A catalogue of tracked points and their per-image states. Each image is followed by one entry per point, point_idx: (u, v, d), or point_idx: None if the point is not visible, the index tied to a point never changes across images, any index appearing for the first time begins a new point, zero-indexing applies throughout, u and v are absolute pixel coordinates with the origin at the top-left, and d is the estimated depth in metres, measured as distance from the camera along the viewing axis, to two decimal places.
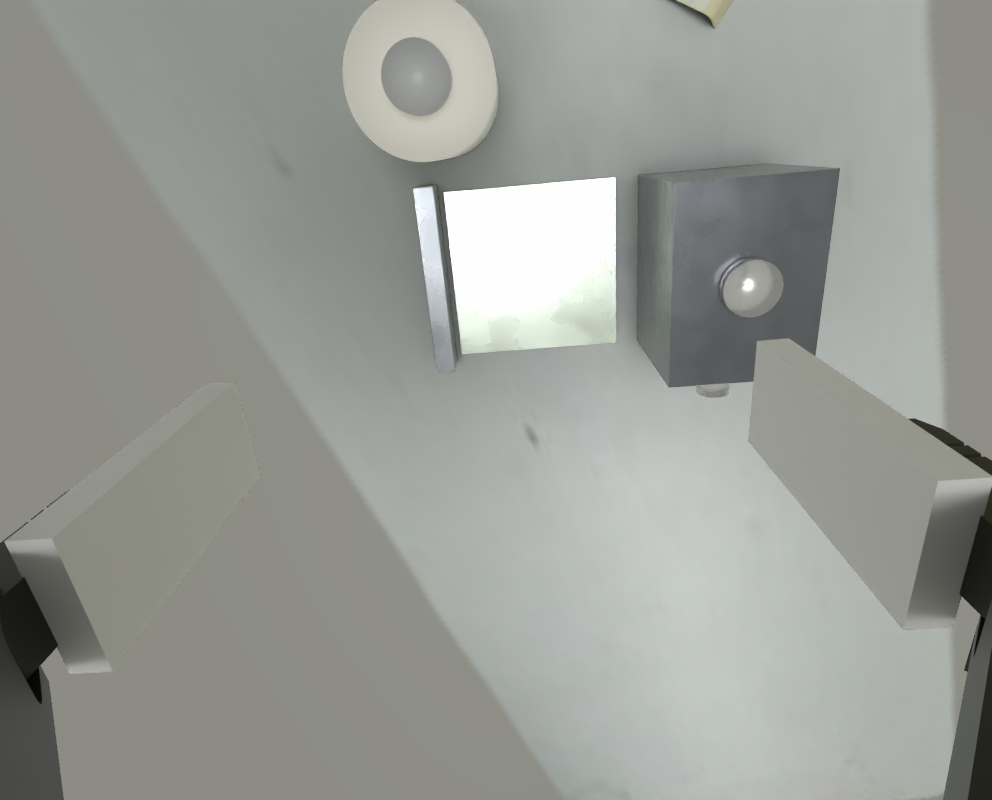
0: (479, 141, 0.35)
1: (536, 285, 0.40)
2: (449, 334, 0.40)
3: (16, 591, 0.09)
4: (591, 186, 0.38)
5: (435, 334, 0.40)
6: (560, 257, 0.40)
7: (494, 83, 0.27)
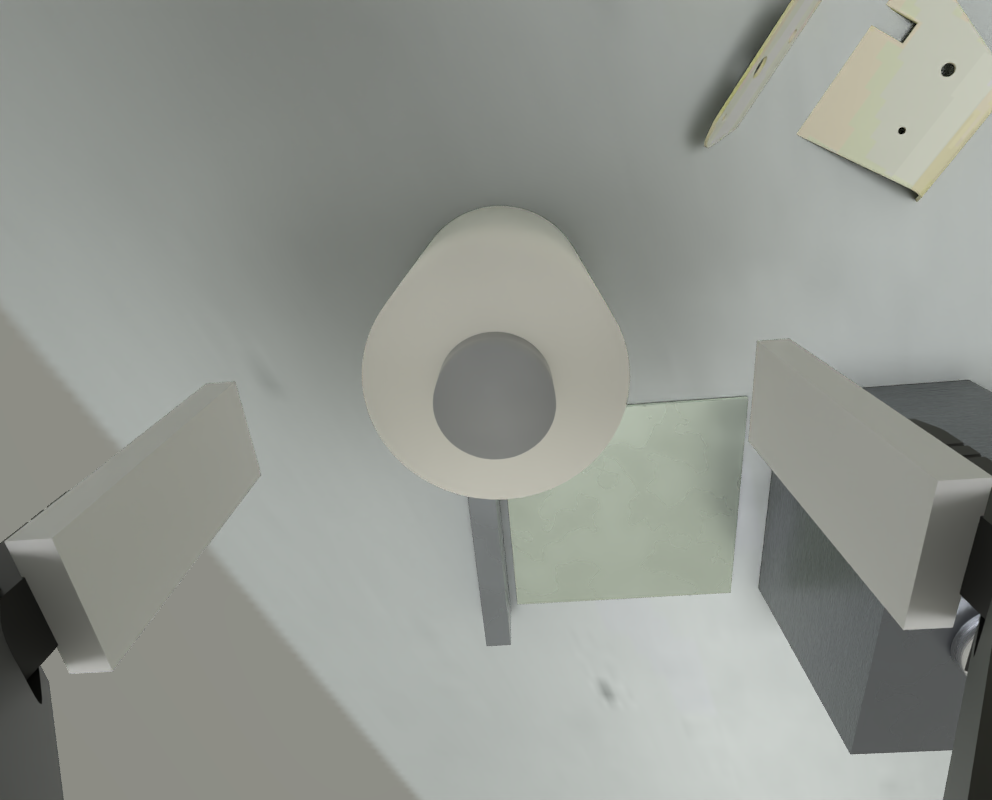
0: None
1: (625, 527, 0.29)
2: (505, 602, 0.28)
3: (16, 591, 0.09)
4: (712, 409, 0.26)
5: (485, 603, 0.28)
6: (661, 494, 0.28)
7: (626, 392, 0.16)
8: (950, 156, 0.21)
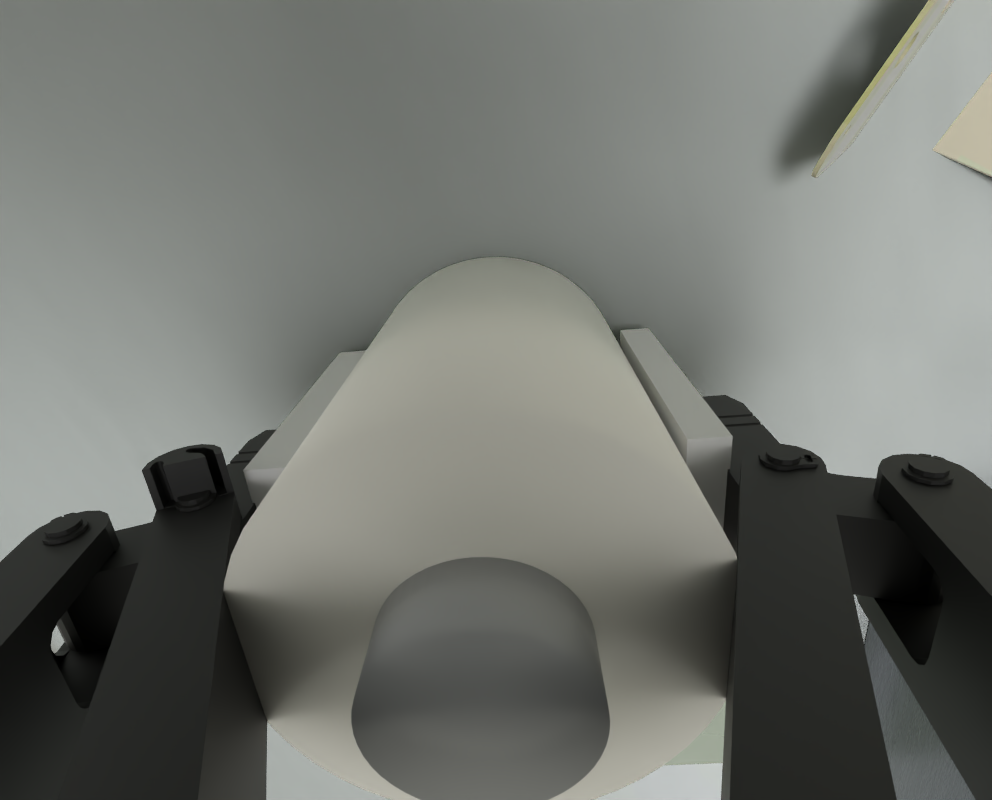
0: None
1: None
2: None
3: (250, 514, 0.11)
4: None
5: None
6: None
7: None
8: None
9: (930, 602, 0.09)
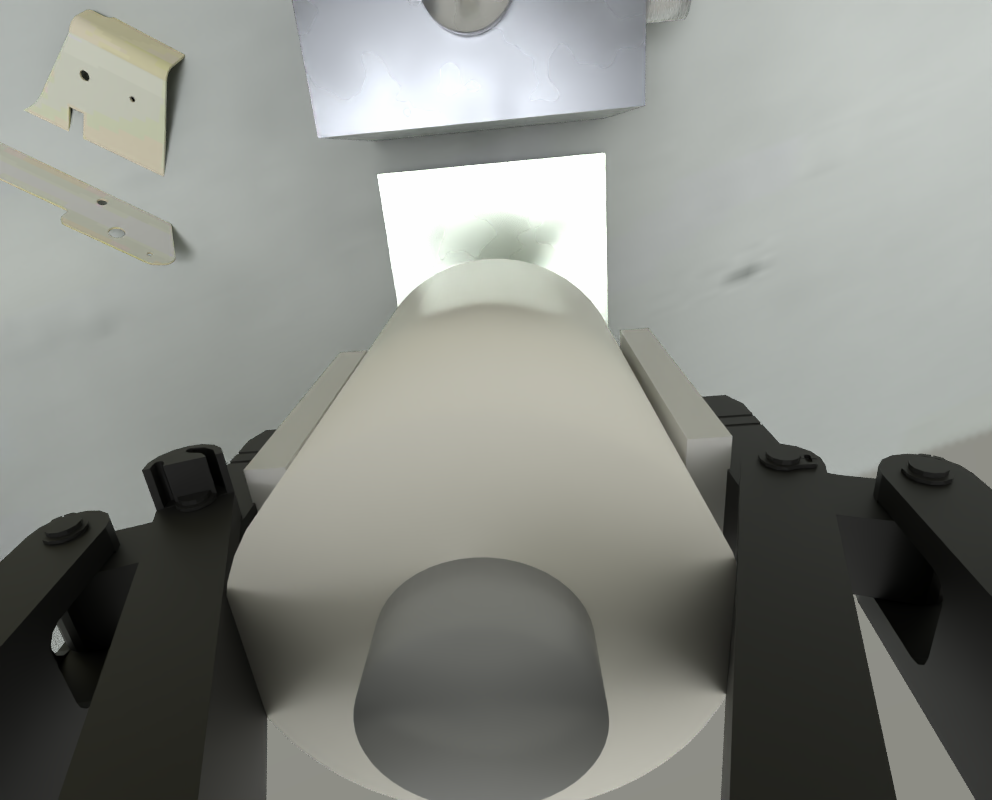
0: None
1: None
2: None
3: (250, 514, 0.11)
4: (390, 206, 0.29)
5: None
6: (481, 243, 0.30)
7: None
8: (135, 54, 0.26)
9: (930, 602, 0.09)
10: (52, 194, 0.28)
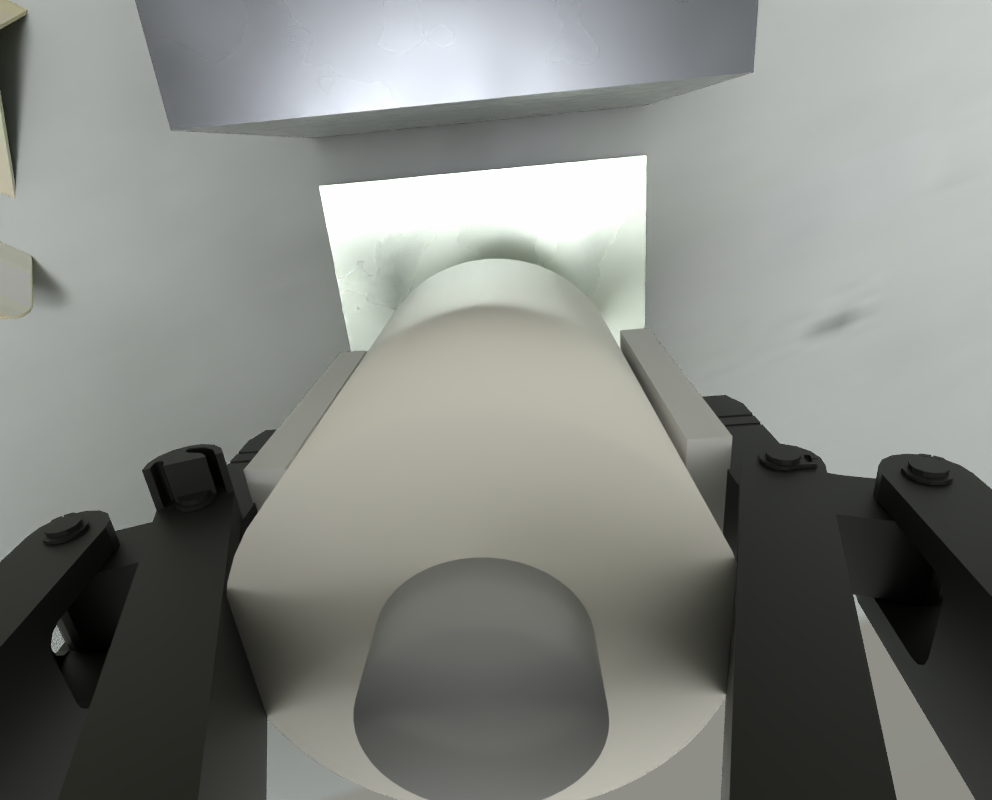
0: None
1: None
2: None
3: (250, 514, 0.11)
4: (339, 231, 0.21)
5: None
6: None
7: None
8: None
9: (930, 602, 0.09)
10: None
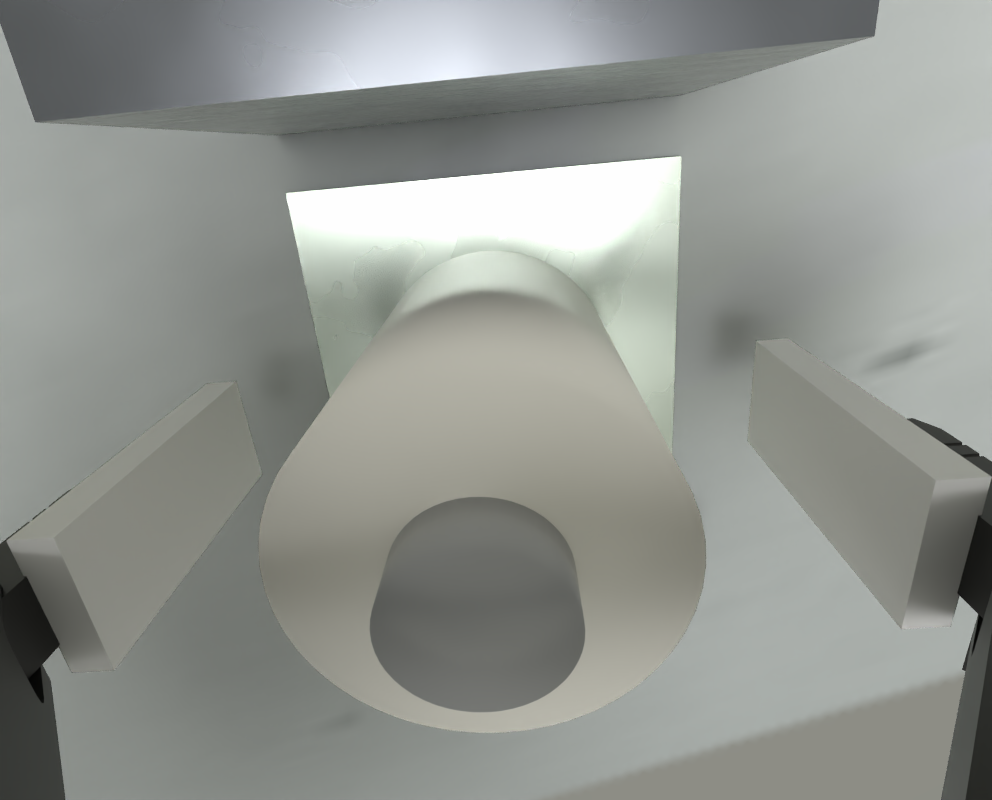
0: None
1: None
2: None
3: (18, 590, 0.09)
4: (311, 246, 0.17)
5: None
6: None
7: (699, 586, 0.09)
8: None
9: None
10: None
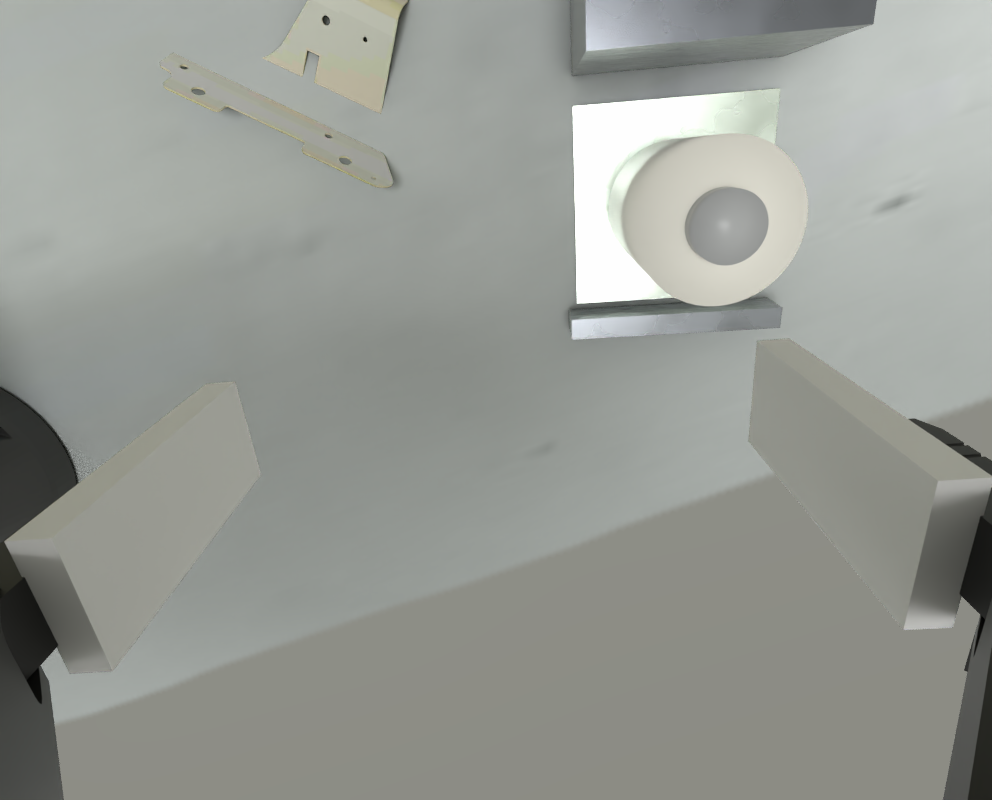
0: None
1: None
2: (734, 310, 0.34)
3: (16, 591, 0.09)
4: (581, 135, 0.33)
5: (731, 326, 0.35)
6: None
7: (803, 229, 0.25)
8: None
9: None
10: (291, 129, 0.33)
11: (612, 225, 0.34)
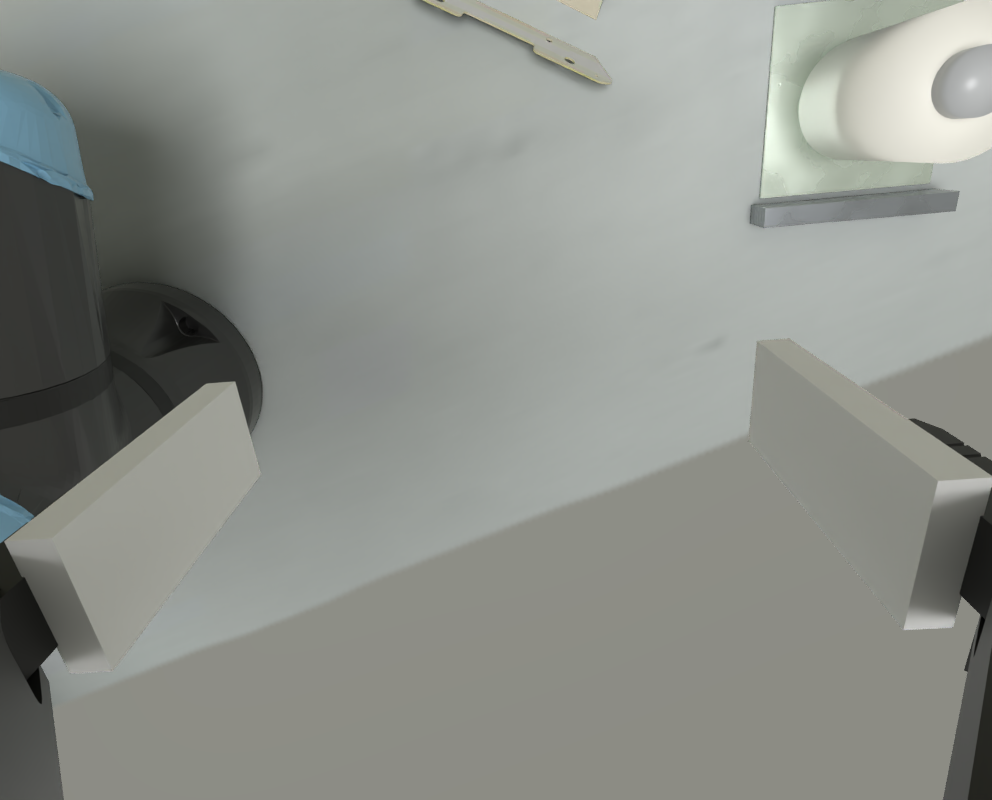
0: None
1: None
2: (915, 195, 0.38)
3: (16, 591, 0.09)
4: (781, 34, 0.36)
5: (911, 211, 0.38)
6: None
7: None
8: None
9: None
10: (519, 33, 0.35)
11: (806, 116, 0.37)
